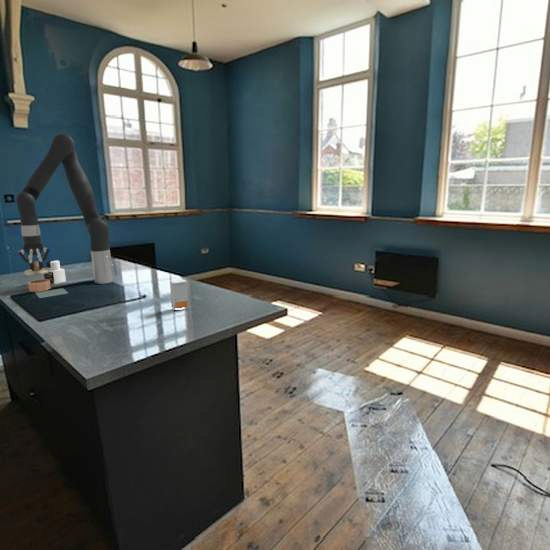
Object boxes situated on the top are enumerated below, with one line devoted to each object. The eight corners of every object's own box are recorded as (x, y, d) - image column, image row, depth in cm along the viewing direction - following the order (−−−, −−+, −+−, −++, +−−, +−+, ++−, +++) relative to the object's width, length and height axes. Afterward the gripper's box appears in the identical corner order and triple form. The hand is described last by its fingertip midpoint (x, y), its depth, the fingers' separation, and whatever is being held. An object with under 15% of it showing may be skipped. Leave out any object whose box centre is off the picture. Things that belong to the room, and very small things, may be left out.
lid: (47, 269, 193) (45, 258, 192) (51, 272, 185) (49, 261, 184) (23, 272, 187) (21, 261, 185) (26, 276, 179) (24, 264, 178)
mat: (63, 289, 189) (62, 288, 189) (68, 294, 180) (68, 293, 180) (35, 293, 182) (35, 292, 182) (39, 299, 173) (39, 298, 173)
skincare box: (174, 311, 153) (172, 283, 150) (171, 308, 157) (169, 280, 154) (189, 309, 156) (187, 281, 153) (186, 306, 160) (184, 279, 157)
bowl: (48, 286, 194) (47, 278, 193) (52, 290, 188) (50, 281, 186) (28, 289, 189) (26, 281, 188) (31, 293, 182) (29, 284, 181)
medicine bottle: (45, 283, 200) (41, 261, 198) (57, 280, 207) (53, 259, 204) (54, 284, 198) (51, 262, 195) (66, 281, 204) (63, 259, 201)
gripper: (46, 232, 189) (51, 266, 193) (12, 235, 180) (18, 270, 184) (49, 234, 183) (54, 268, 187) (14, 236, 175) (20, 273, 178)
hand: (36, 269), depth 186 cm, fingers closed on lid, 2 cm apart
